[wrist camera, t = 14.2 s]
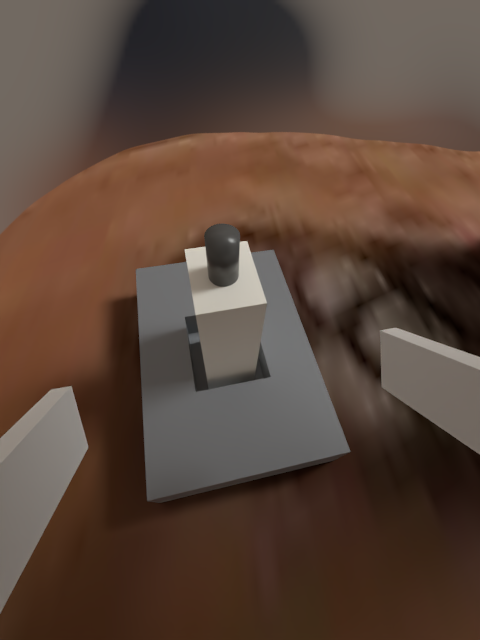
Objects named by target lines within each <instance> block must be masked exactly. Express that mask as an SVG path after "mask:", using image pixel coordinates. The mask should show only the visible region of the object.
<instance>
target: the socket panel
mask: <svg viewBox="0 0 480 640" xmlns="http://www.w3.org/2000/svg"><path fill="white" fill-rule="evenodd" d="M251 255H252V258H253V261H254V264H255V267H256V270H257V274H258V277H259V280H260V283H261V286H262V289H263V292H264V295H265V298H266V301H267V307H266V313H265V319H264V325H263V330H262V336H261V342H260V348H259V354H258V360H257V366H256V372H255V378H254V380H253V381H248V382H243V383H238V384H233V385H228V386H223V387H218V388H213V389H209V388H208V382H207V376H206V371H205V365H204V360H203V354H202V348H201V343H200V337H199V331H198V326H197V320H196V315H195V309H194V303H193V297H192V291H191V285H190V279H189V273H188V267H187V262H183V263H176V264H169V265H162V266H155V267H148V268H141V269H136V283H137V303H138V324H139V345H140V365H141V386H142V407H143V427H144V448H145V469H146V489H147V501H150V502H156V503H162V502H166V501H170V500H174V499H178V498H182V497H186V496H190V495H195V494H199V493H203V492H207V491H211V490H215V489H219V488H223V487H227V486H231V485H235V484H240V483H244V482H248V481H252V480H256V479H260V478H264V477H268V476H272V475H276V474H280V473H285V472H289V471H293V470H297V469H301V468H305V467H309V466H313V465H317V464H321V463H325V462H330V461H334V460H336V459H338V458H340V457H342V456H343V455H345V454H347V453H349V452H350V449H349V446H348V444H347V441H346V439H345V436H344V433H343V431H342V428H341V425H340V423H339V420H338V418H337V415H336V412H335V410H334V407H333V404H332V402H331V399H330V397H329V394H328V391H327V389H326V386H325V383H324V381H323V378H322V376H321V373H320V370H319V368H318V365H317V363H316V360H315V357H314V355H313V352H312V349H311V347H310V344H309V342H308V339H307V336H306V334H305V331H304V328H303V326H302V323H301V321H300V318H299V315H298V313H297V310H296V307H295V305H294V302H293V300H292V297H291V294H290V292H289V289H288V287H287V284H286V281H285V279H284V276H283V273H282V271H281V268H280V266H279V263H278V260H277V258H276V255H275V252H274V250H268V251H261V252H254V253H251Z"/></svg>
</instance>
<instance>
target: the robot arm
mask: <svg viewBox="0 0 480 640" xmlns="http://www.w3.org/2000/svg"><path fill="white" fill-rule="evenodd" d="M380 345H381V380H382V388H384V389H385V390H387V391H388V392H389V393H391V394H392V395H394V396H395V397H397V398H398V399H400V400H401V401H403V402H404V403H405V404H407V405H408V406H410V407H411V408H413V409H414V410H416V411H417V412H419V413H420V414H421V415H423V416H424V417H426V418H427V419H429V420H430V421H432V422H433V423H435V424H436V425H437V426H439V427H440V428H442V429H443V430H445V431H446V432H448V433H449V434H451V435H452V436H453V437H455V438H456V439H458V440H459V441H461V442H462V443H464V444H465V445H467V446H468V447H469V448H471V449H472V450H474V451H475V452H477V453H478V454H480V357H478V356H475V355H472V354H469V353H467V352H464V351H461V350H458V349H455V348H452V347H449V346H447V345H444V344H441V343H438V342H435V341H432V340H430V339H427V338H424V337H421V336H418V335H415V334H412V333H410V332H407V331H404V330H401V329H398V328H391V329H386V330H380ZM87 449H88V444H87V440H86V437H85V433H84V429H83V426H82V422H81V419H80V415H79V411H78V408H77V404H76V401H75V397H74V393H73V390H72V386H68V387H63V388H57V389H52V390H50V391H49V392H48V393H47V394H46V395H45V396H44V397H43V398H42V399H41V400H40V401H38V402H37V403H36V404H35V405H34V406H33V407H32V408H31V409H30V410H29V411H28V412H27V413H26V414H25V415H24V416H23V417H22V418H21V419H20V420H19V421H18V422H17V423H16V424H15V425H14V426H13V427H11V428H10V429H9V430H8V431H7V432H6V433H5V434H4V435H3V436H2V437H1V438H0V613H1V611H2V609H3V607H4V606H5V604H6V602H7V600H8V598H9V596H10V594H11V592H12V590H13V589H14V587H15V585H16V583H17V581H18V579H19V577H20V575H21V574H22V572H23V570H24V568H25V566H26V564H27V562H28V560H29V558H30V557H31V555H32V553H33V551H34V549H35V547H36V545H37V543H38V541H39V540H40V538H41V536H42V534H43V532H44V530H45V528H46V526H47V524H48V523H49V521H50V519H51V517H52V515H53V513H54V511H55V509H56V508H57V506H58V504H59V502H60V500H61V498H62V496H63V494H64V492H65V491H66V489H67V487H68V485H69V483H70V481H71V479H72V477H73V475H74V474H75V472H76V470H77V468H78V466H79V464H80V462H81V460H82V459H83V457H84V455H85V453H86V451H87Z"/></svg>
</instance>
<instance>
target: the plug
mask: <svg viewBox="0 0 480 640" xmlns="http://www.w3.org/2000/svg"><path fill="white" fill-rule="evenodd" d="M204 237H205V247H199V248H192V249H185V255H186V261H187V267H188V273H189V279H190V285H191V291H192V297H193V303H194V309H195V315H196V320H197V326H198V331H199V337H200V343H201V348H202V354H203V360H204V365H205V371H206V376H207V382H208V388H209V389H213V388H218V387H223V386H228V385H233V384H238V383H243V382H248V381H253V380H254V378H255V372H256V366H257V360H258V354H259V348H260V342H261V336H262V330H263V325H264V319H265V313H266V307H267V301H266V298H265V295H264V292H263V289H262V286H261V283H260V280H259V277H258V274H257V270H256V267H255V264H254V261H253V258H252V255H251V252H250V249H249V246H248V243H247V241H243V242H240V233H239V231H238V230H237V229H236V228H235V227H233V226H231V225H228V224H216V225H213V226H211V227H210V228H208V229H207V230H206V232H205V236H204Z"/></svg>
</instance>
